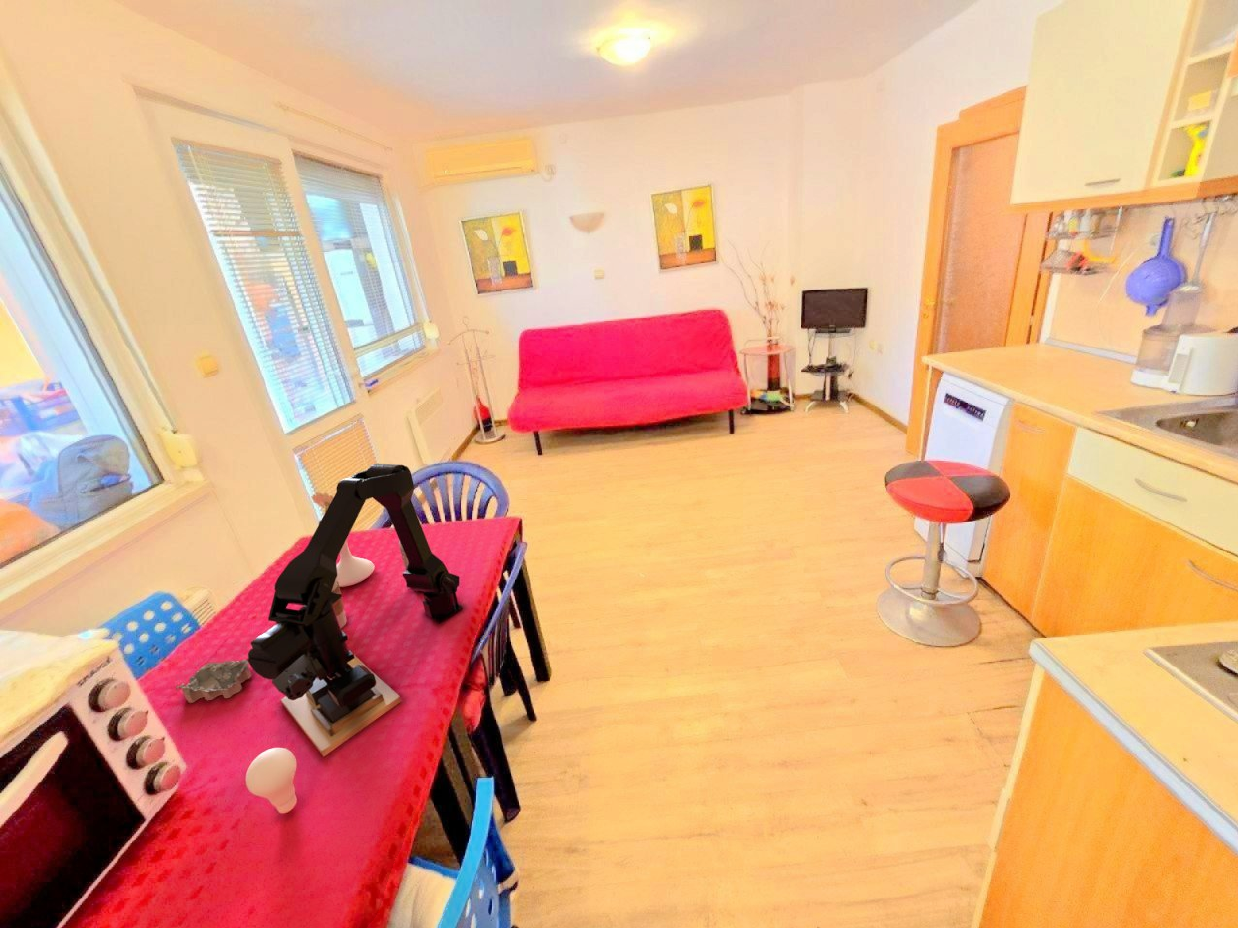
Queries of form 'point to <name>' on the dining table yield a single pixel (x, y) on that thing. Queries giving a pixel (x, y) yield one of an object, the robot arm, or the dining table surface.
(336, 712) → the dark rectangular block
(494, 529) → the dining table surface
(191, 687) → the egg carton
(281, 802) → the lightbulb
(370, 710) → the backing board
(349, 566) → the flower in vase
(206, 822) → the dining table surface
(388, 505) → the robot arm
